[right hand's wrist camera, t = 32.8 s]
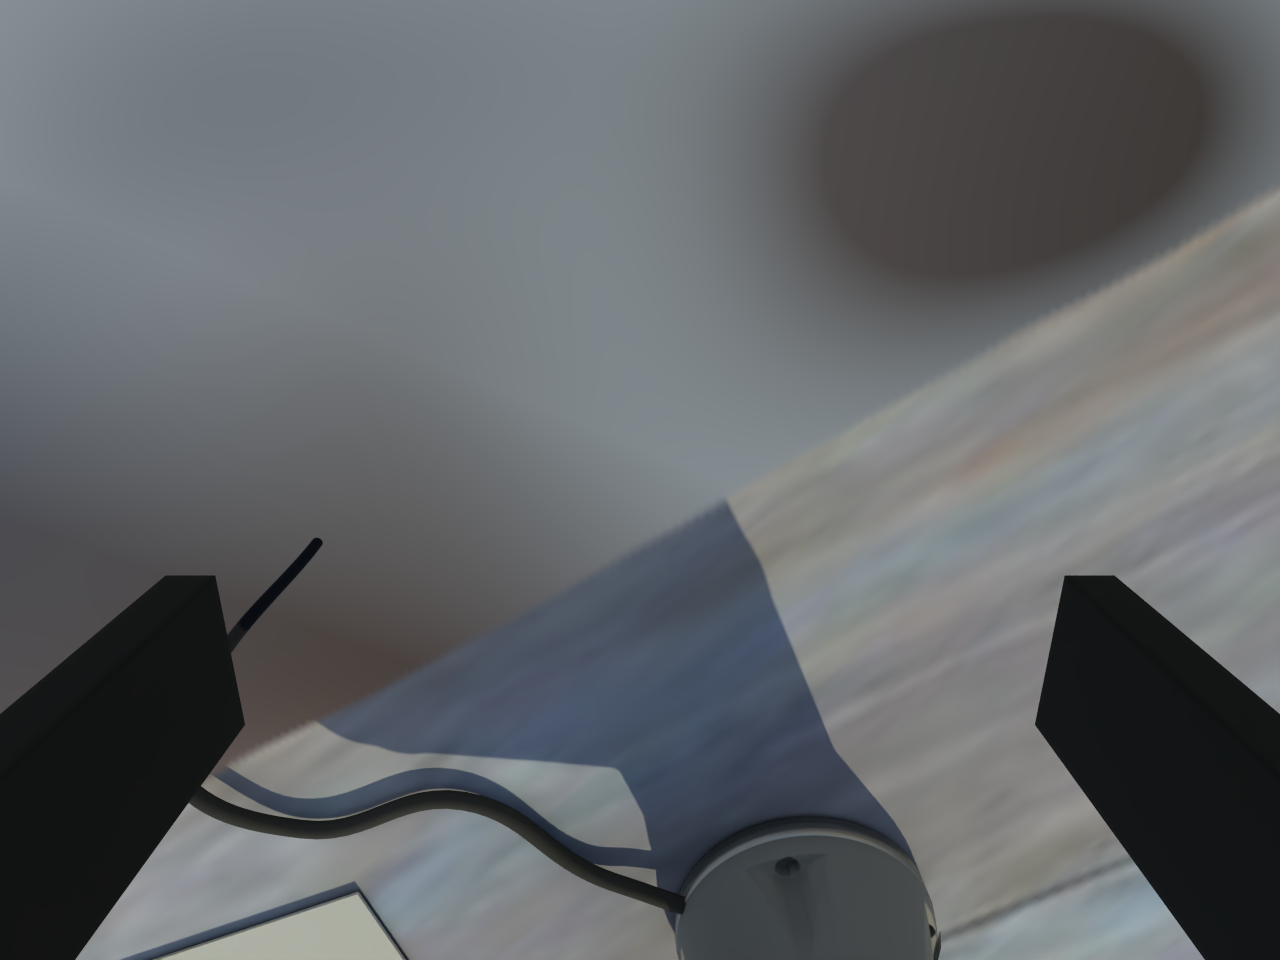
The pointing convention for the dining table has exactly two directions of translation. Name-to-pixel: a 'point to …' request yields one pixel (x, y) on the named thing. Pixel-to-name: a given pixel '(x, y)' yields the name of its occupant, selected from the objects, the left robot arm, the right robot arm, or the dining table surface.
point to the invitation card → (305, 937)
